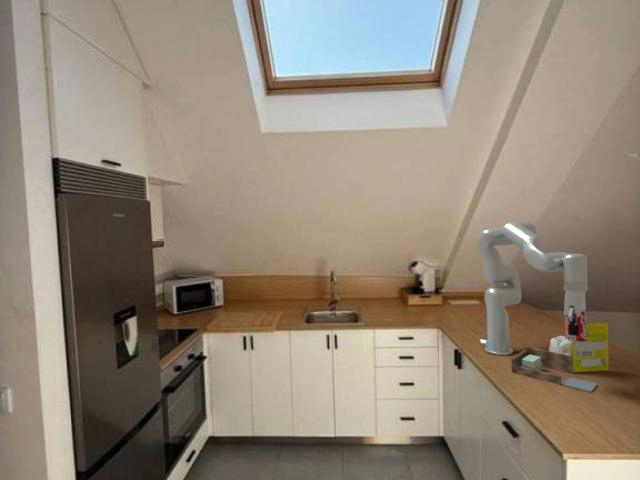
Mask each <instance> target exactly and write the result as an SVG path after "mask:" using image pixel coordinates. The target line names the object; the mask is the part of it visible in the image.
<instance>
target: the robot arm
mask: <svg viewBox="0 0 640 480" xmlns="http://www.w3.org/2000/svg"><path fill="white" fill-rule="evenodd" d="M540 244H541V238H540V236H539V234H537V228H536V226H535V225H534V224H533V223H532V222H530V221H526V220H525V221H524V220H523V221H522V220H520V221H510V222H507V223H505V225H504V226H503V227H495V228H487V229H484V230H483V231H481V232H480V233H479V234H478V237H477V246H478V250H479V253H480V256H481V260H482V261H481V262H482V268H483V273H484V278H485V281H486V282H487V283H488V284H491V285H493V284H494V285H497V284H503V285H498V286H491V287H489V288H487V289H486V290H485V292H484V296H483V297H484V302H485V306H486V307H485V308H486V320H487V321H486V323H487V324H486V325H487V326H486V327H487V330H486V331H487V339H483V338H480V340H479V342H480V345H485V346H484V351H485V352H486V353H488V354H492V355H497V356H509V355H512V354H513V353H514V350H513V348H512V347H510V327H509V326H510V323H509V322H510V319H509V313H508V311H507V309H506V306H513V305H517V304H520V303H521V300H522V298H523V297H522V295H523V294H522V288H521V282H520V276H519V271H518V269H517V267H516V266H514V265H513V264H512V263H509V262H506V263H502V258H501V257H502V256H501V254H500V252H499V250H498V249H497V248H496V247H498V246H511V245H515V246H516V247H518V248H519V249H521V250H522V251H523V252H522V253H523V256H524V258H525V260H526V262H527V263H528V264H529V265H531V266H532V267H533V268H535V269H537V270H538V271H539V272H543V273H553V272H562V273H563V290H564V291H565V293H564V301H563V302H564V304H563V305H564V308H563V310H564V311H563V313H564V314H563V315H564V316H567V315H568V333H569V335H575V336H578V335H579V325H577V324H578V318H579V317H580V315H581V313H582V311H584V310H585V313H586V312H587V311H586V310H587V307H586V304H587V303H586V292H588V288H589V287H588V258H587V256H586V255H585V254H583V253H569V252H564V251H561V252H558V251H557V252H546V253H545V252H543V251H542V250H541V249H539V248H538V247H540ZM495 246H496V247H495ZM573 314H575V315H576V316H573ZM573 318H576V319H575V320H574V319H573Z"/></svg>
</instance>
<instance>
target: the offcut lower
mask: <svg viewBox="0 0 640 480" xmlns="http://www.w3.org/2000/svg"><path fill="white" fill-rule="evenodd" d="M521 367H523V366H521ZM525 368H527V367H525ZM543 368H544V367H543V364H542V363H541V364H540V365H539V366H537V367H536V368H534V370H538V371H542V370H544V369H543ZM529 369H531V368H529Z"/></svg>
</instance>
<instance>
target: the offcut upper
mask: <svg viewBox="0 0 640 480" xmlns="http://www.w3.org/2000/svg"><path fill="white" fill-rule="evenodd" d="M540 364H541V357H539V356H534V355H528V356H527V357H525V358H523V359H522V366H523V367H527V368H531V369H534V368H536V367H537V366H539V365H540Z"/></svg>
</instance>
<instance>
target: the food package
mask: <svg viewBox="0 0 640 480" xmlns="http://www.w3.org/2000/svg"><path fill="white" fill-rule="evenodd" d="M572 356H573V373H583V372H586V373H587V372H590V373H591V372H602V371H603V372H605V371H609V323H608V322H599V323H587V341H585V342H584V343H576V342H572Z"/></svg>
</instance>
